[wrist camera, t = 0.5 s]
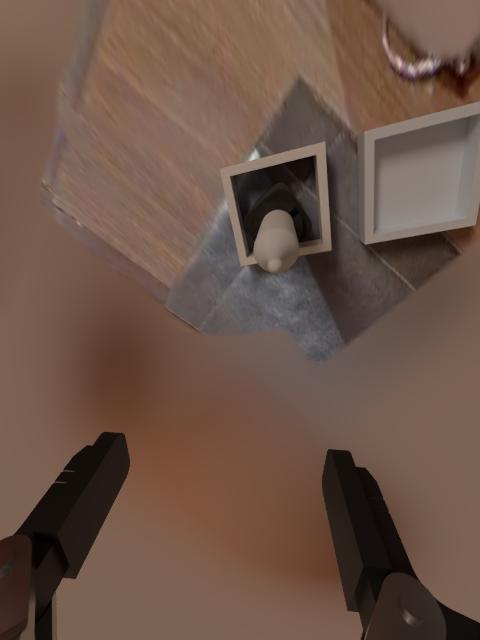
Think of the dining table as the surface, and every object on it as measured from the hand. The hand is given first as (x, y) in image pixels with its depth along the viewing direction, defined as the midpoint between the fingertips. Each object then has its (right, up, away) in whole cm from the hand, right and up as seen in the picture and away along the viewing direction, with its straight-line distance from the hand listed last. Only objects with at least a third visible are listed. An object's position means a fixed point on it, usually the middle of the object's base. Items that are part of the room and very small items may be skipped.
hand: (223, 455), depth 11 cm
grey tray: (+21, +22, +22) cm, 38 cm away
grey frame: (+6, +20, +25) cm, 33 cm away
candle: (+6, +20, +25) cm, 33 cm away
